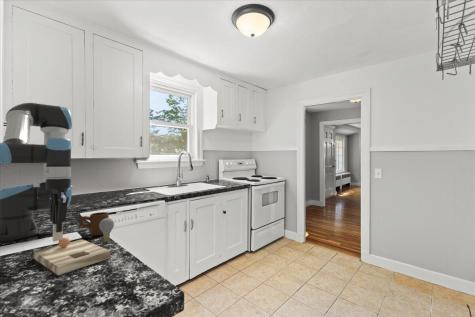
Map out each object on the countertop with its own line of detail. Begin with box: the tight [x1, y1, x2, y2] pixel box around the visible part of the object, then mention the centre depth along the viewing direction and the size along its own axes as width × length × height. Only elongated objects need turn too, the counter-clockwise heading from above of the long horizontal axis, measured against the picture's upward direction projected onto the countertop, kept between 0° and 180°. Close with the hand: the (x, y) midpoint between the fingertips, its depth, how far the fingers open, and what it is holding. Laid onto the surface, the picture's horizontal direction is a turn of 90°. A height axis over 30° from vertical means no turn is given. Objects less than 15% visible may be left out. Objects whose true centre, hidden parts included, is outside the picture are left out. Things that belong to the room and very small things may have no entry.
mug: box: [78, 211, 109, 237], centre depth 106 cm, size 12×8×9 cm, turn 131°
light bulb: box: [99, 218, 115, 243], centre depth 95 cm, size 5×6×10 cm
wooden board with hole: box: [33, 239, 111, 276], centre depth 79 cm, size 22×15×2 cm
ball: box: [57, 236, 71, 247], centre depth 83 cm, size 3×3×3 cm
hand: (57, 240), depth 86 cm, fingers closed
